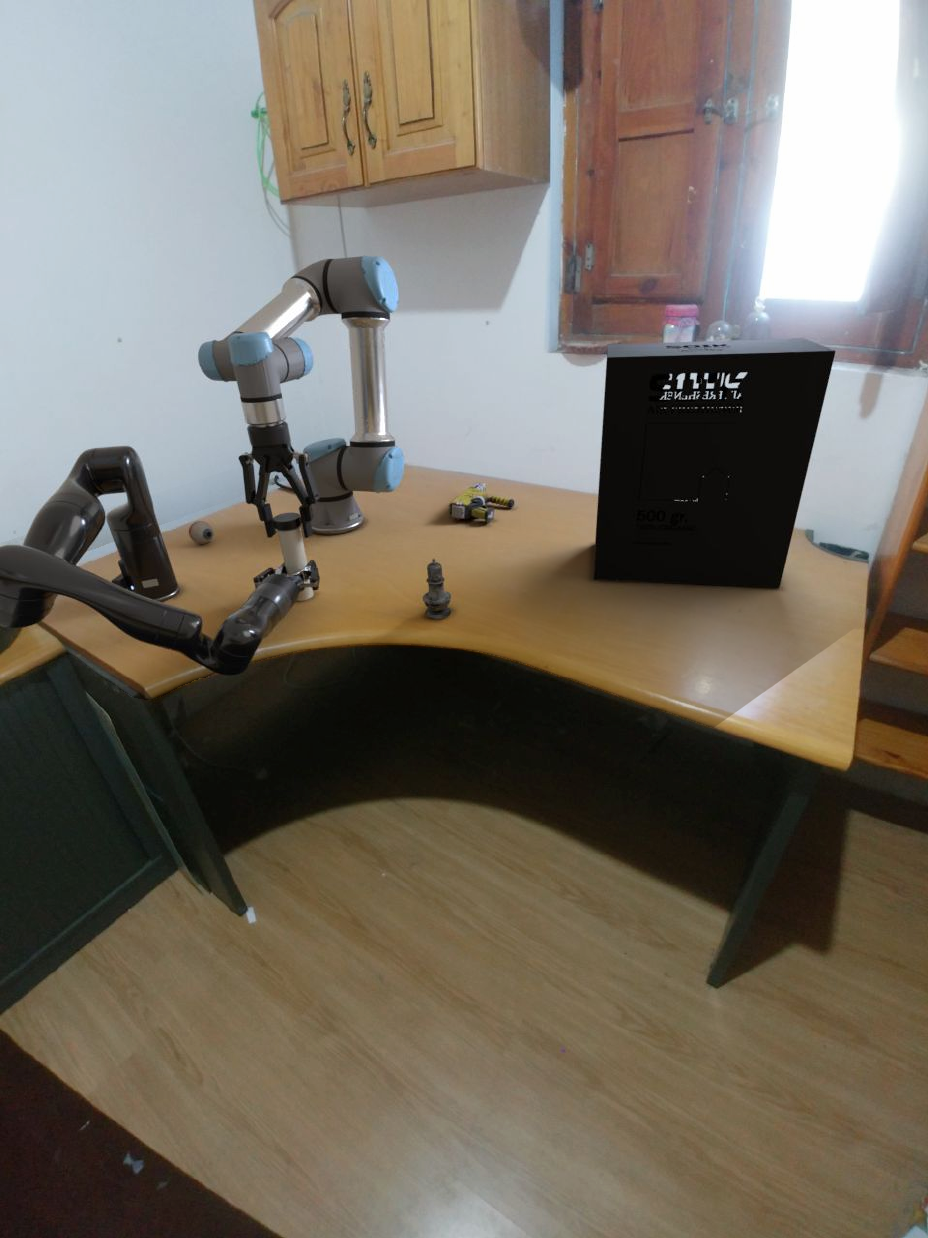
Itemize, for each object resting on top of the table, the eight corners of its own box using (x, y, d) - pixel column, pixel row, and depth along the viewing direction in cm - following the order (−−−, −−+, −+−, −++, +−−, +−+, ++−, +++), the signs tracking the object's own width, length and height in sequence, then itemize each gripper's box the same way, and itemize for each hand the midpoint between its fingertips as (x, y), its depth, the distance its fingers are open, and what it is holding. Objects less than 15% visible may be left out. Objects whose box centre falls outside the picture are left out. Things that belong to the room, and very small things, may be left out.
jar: (298, 590, 135) (282, 515, 126) (317, 591, 134) (302, 516, 125) (288, 600, 131) (271, 523, 122) (307, 601, 130) (291, 524, 121)
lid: (268, 527, 124) (266, 518, 123) (290, 518, 128) (289, 510, 127) (285, 532, 121) (283, 523, 120) (307, 523, 125) (305, 515, 124)
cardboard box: (759, 548, 141) (803, 338, 119) (779, 587, 124) (835, 350, 102) (595, 543, 149) (607, 344, 126) (593, 579, 132) (607, 357, 109)
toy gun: (522, 487, 180) (475, 480, 184) (500, 511, 160) (447, 502, 164) (521, 502, 182) (474, 495, 186) (499, 527, 162) (447, 519, 166)
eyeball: (202, 548, 159) (196, 527, 156) (187, 544, 162) (181, 523, 159) (221, 540, 163) (215, 519, 160) (206, 537, 166) (200, 516, 163)
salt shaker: (449, 620, 120) (445, 565, 114) (420, 618, 121) (415, 564, 115) (455, 606, 125) (451, 552, 119) (427, 604, 126) (422, 551, 120)
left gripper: (241, 617, 120) (274, 578, 135) (310, 617, 118) (336, 579, 133) (232, 583, 116) (267, 547, 131) (303, 583, 114) (330, 547, 129)
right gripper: (324, 417, 116) (342, 528, 127) (226, 419, 119) (252, 528, 130) (310, 426, 109) (330, 542, 121) (207, 428, 112) (236, 542, 124)
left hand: (301, 563), depth 132 cm, fingers closed on jar, 4 cm apart
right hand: (290, 535), depth 126 cm, fingers open, 7 cm apart
